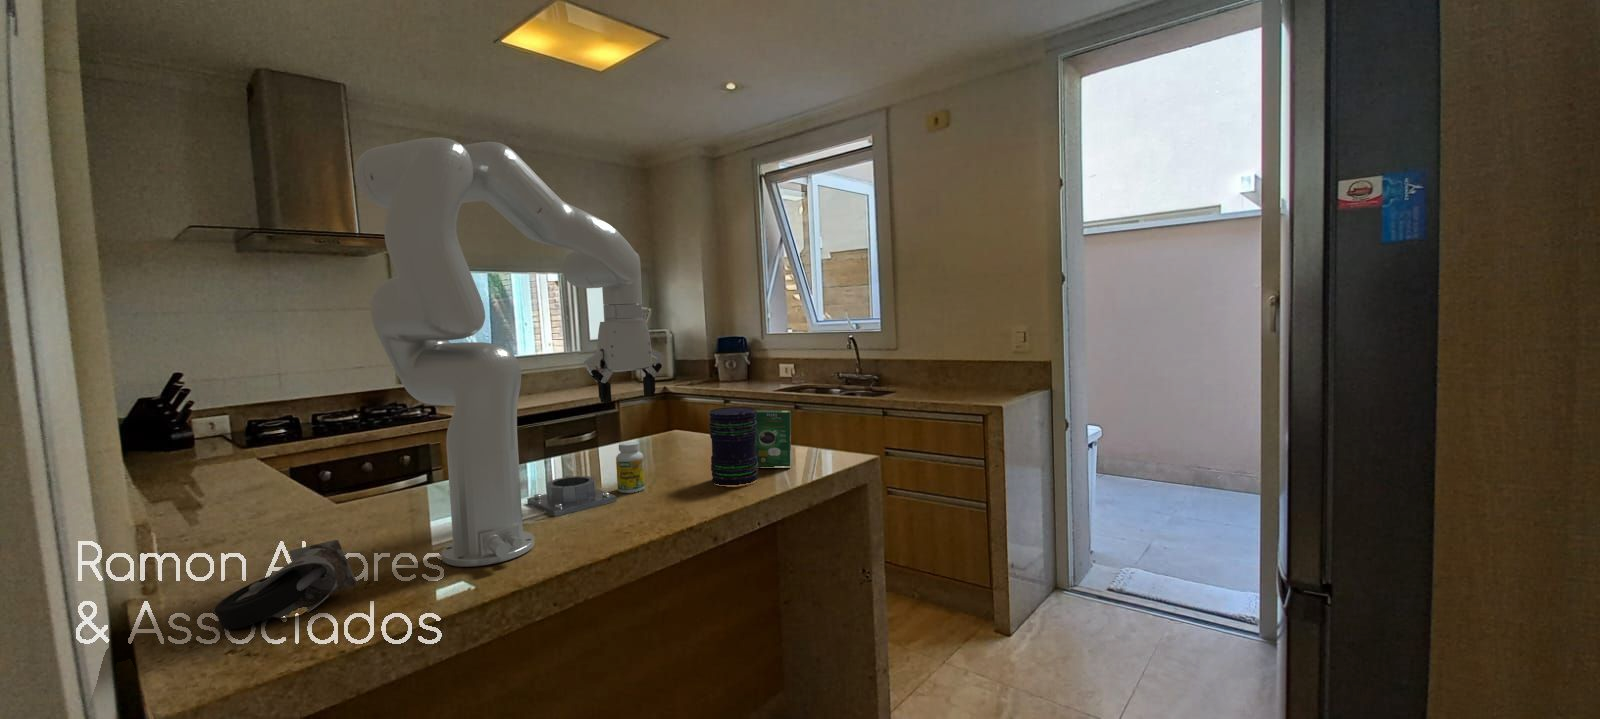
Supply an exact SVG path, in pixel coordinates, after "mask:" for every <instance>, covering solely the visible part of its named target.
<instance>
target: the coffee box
mask: <svg viewBox="0 0 1600 719" xmlns="http://www.w3.org/2000/svg"><path fill="white" fill-rule="evenodd" d="M791 412H792V410H764V409H762V410H760V409H759V410H757V409H756V414H755V416H756V422H757V428H756V429H757V436H756V454H757V457H758V461H757V462H758V467H774V466H790V465H791V466H792V446H791V445H792V444H791V443H792V439H791V438H792V435H791V434H792V432H791V431H792V428H791V427H792V423H791V422H792V414H791Z"/></svg>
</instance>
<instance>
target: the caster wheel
mask: <svg viewBox="0 0 1600 719" xmlns="http://www.w3.org/2000/svg"><path fill="white" fill-rule="evenodd" d="M289 555H290V558H291V559H292V561H291V562H289V563H288V564H287V565H285V566H283V567H282V568H280V569H279V570H277V571H276V572H274V573H273V574H271V575H269V576H266V577H263V578H261V579H258V580H257V581H253V582H251V583H250V584H247V585H245V586H243V587H242V588H240V589H238V590H236V591H234V592H232V593H231V594H230V595H228V596H227V597H225V598H223V599H222V600H221V601H220V602H218V604H217V605H216V606H215V607H214V609H213V611H214V613H215V615H216V617H217V620H218V622H219V623H220V625H221V627H222V629H224V630H228V631H230V630H238V629H242V628H245V627H249V626H251V625H254V624H257V623H258V622H262V621H264V620H267V619H268V618H270V617H273V618H277V619H282V618H281V617H283V616H285V615H289V614H290V613H291V612H292V611H295V610H297V609H298V608H302V607H307V609H308V610H307V613H309V612H311V611H312V610H314V609H316V608H317V607H318V606H319V605H321V603H323V602H324V601H325V600H326V599H328V598H329V597H330V596H331V595H332V594H334V593H335V592H336V591H338V590H342V589H346V588H352V587H355V586H358V581H357V579H356V577H355V574H354V573H353V570H352V568H351V566H350V563H349V561H348V559H347V557H346V555H345V553H344V550H343V548H342V545H341V543H340V542H339V540H338V539H333V540H330V541H324V542H321V543H320V542H319V543H317V544H312V545H307V546H304V547H299V548H295V549H290V550H289Z"/></svg>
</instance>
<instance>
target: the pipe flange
mask: <svg viewBox="0 0 1600 719" xmlns="http://www.w3.org/2000/svg"><path fill="white" fill-rule="evenodd" d="M545 488H546V493H544V494H540V493H538V494H536V493H535V494H534V495H533V496H532V497H528V498H526V499H527V504H528V505H530V506H532V507H533V508H536V509H538V510H539V511H542V512H544V513H547V514H549V515H550V516H552V517H555V518H556V517H560V516H563V515H568V514H571V513H575V512H579V511H583V510H588V509H592V508H595V507H599V506H603V505H608V504H611V503H616V502H618V501H617V495H614V494H611V493H610V492H609V491H608V492H606V491H603V490H601V489H599V488H596V478H595V477H593V476H589V475H588V476H587V475H574V476H572V475H571V476H565V477H560V478H559V477H558V478H556V479H553V480H550V481H548V482H547V483H546V486H545Z"/></svg>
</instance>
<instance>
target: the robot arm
mask: <svg viewBox="0 0 1600 719" xmlns="http://www.w3.org/2000/svg"><path fill="white" fill-rule="evenodd" d="M353 171H354V174H353V176H354V180H355V183H356V185H357V188H358V189H359V191H360V192H361V193H362V194H363V196H364V197H365V198H367V199H368V200H369V201H370V202H372V203H373V204H374V205H377V206H380V207H382V208H387V211H386V215H385V220H384V228H383V229H384V242H385V246H386V250H387V253H388V255H389V258H390V260H391V262H392V266H393V268H394V270H395V273H396V275H397V276H394V277H391V278H389V279H386V280H385V281H383V282H382V283H380V285H379V286H377V288H375V290H374V292H373V294H372V297H371V299H370V300H371V302H370V308H369V309H370V319H371V323H372V326H373V328H374V330H375V333H376V335H377V337H378V340H379V341H380V343H381V346H382V347H383V349H384V351H385V353H386V356H387V358H388V359H389V362H390V364H391V365H392V367H393V369H394V372H395V373H396V375H397V377H398V378H399V381H400V382H401V384H402V386H403V387H404V389H405V390H406V392H407V393H408V394H409V395H410V396H411V397H412V398H414V399H415V400H416V401H418V402H420V403H423V404H425V405H426V404H427V405H431V406H445V407H446V406H448V407H454V410H453V413H452V416H451V418H450V421H449V424H448V428H447V431H446V441H445V445H446V446H445V447H446V456H447V470H448V474H447V475H448V487H449V489H448V490H449V499H450V501H449V504H450V514H451V515H450V516H451V529H452V542H451V543H449V544H448V545H446V546H445V547H444V548H443V549H442V551H441V560H442V562H444V563H445V564H447V565H450V566H451V567H452V566H453V567H465V568H467V567H469V568H470V567H481V566H488V565H489V566H490V565H492V564H494V565H495V564H498V563H502V562H507V561H509V560H513V559H515V558H518V557H520V556H522V555H524V554H526V553H528V552H529V551H530V550H531V549H533V547H534V546H535V536H534V535H533V534H532V533H530V532H529V531H525V530H524V528H523V512H522V511H523V510H522V509H523V508H522V492H521V491H522V490H521V477H520V460H519V443H518V405H519V396H520V391H521V385H522V384H521V383H522V369H521V366H520V362H519V361H518V358H517V357H516V356H515V354H513V352H511V350H509V349H508V348H506V347H505V346H502V345H499V344H496V343H491V342H483V341H482V342H478V341H477V342H473V341H471V342H463V341H462V342H450V341H454V340H462V339H466V338H470V337H471V336H474V335H476V334H477V333H479V331H480V330H481V329H482V328H483V326H484V324H485V320H486V311H485V306H484V303H483V300H482V297H481V295H480V293H479V290H478V287H477V285H476V282H475V279H474V277H473V275H472V272H471V270H470V267H469V265H468V262H467V260H466V258H465V256H464V253H463V251H462V247H461V245H460V242H459V239H458V234H457V219H458V215H459V212H460V208H461V206H462V204H466V203H467V204H468V203H476V202H485V203H487V204H489V205H490V206H491V207H492V209H494V210H496V211H497V213H499V214H500V215H501V216H502V217H503V218H505V220H506V221H508V222H509V223H510V224H511V225H513V226H514V228H516V229H517V230H518V231H519V232H520V233H521V234H522V235H523V236H525V237H526V238H528V239H530V240H531V241H534V242H538V243H541V244H544V245H548V246H553V247H556V248H562V249H568V250H571V251H569V252H568V253H567V254H566V255H565V256H564V258H563V260H562V262H561V271H562V276H563V277H564V279H565V280H566V282H568V283H569V284H570V285H572V286H574V287H576V288H580V289H602V290H601V292H602V304H603V306H602V307H603V320H604V321H599V328H598V334H597V342H596V343H597V344H596V346H597V348H596V349H597V350H596V352H597V353H595V354H593V355H591V356H590V357H588V358H587V359H585V360H584V361H583V365H584V367H585V369H586V370H587V372H588V375H589V376H590V377H591V378H592V379H594V381H595V382H596V383H597V385H598V386H597V388H598V398H599V400H600V403H604V404H611V403H612V387H611V383H610V382H609V380H610V378H611V377H612V375H613V374H614V373H618V372H619V373H621V372H622V373H623V372H629V371H638V370H639V371H641V372H642V373H643V374H644V376H643V378H642V386H643V388H642V390H643V395H644V396H645V397H649V398H654V397H655V395H656V394H655V393H656V377H657V376H658V373H659V372H660V370H661V369H662V367H663V366H662V365H663V364H664V361H665V358H666V356H665V353H662V352H660V351H658V350H656V349H654V348H652V342H651V336H650V330H649V327H648V323H647V320H646V319H644V318H645V317H644V316H645V315H647V314H648V313H649V309H648V307H644V304H643V288H642V287H643V286H642V270H641V269H642V267H641V258H640V255H639V254H638V253H637V251H635V250H634V248H633V246H632V245H631V244H630V243H629V242H628V241H627V239H625V237H624V236H623V235H622V234H621V233H620V232H619V231H618V230H617V229H616V228H615V227H613V226H612V225H611V224H609V223H608V222H607V221H604V220H602V219H600V218H599V217H597V216H595V215H593V214H591V213H589V212H587V211H585V210H583V209H580V208H578V207H576V206H574V205H571V204H570V203H567V202H565V201H564V200H562V199H561V198H560V197H559V196H558V195H557V194H556V193H555V192H554V191H553V190H552V189H551V188H550V187H549V186H548V185H547V184H546V183H545V181H544V180H542V179H541V177H539V176H538V174H536V173H535V172H534V170H533V169H532V168H531V167H530V166H529V165H528V164H527V163H526V162H525V161H524V160H523V159H522V158H521V157H520V156H519V155H518V154H517V153H516V152H515V151H514V150H512V149H511V147H509V146H507V145H506V144H504V143H502V142H497V141H481V142H474V143H469V144H468V143H467V144H461V143H459V142H457V141H456V140H454V139H451V138H448V137H447V138H446V137H440V136H439V137H436V136H435V137H432V136H431V137H424V138H418V139H417V138H416V139H412V140H406V141H403V142H397V143H390V144H386V145H380V146H375V147H372V148H370V149H368V150H366V151H364V152H363V153H362V154H361V155H360V156H359V157H358V159H357V160H356V161H355V165H354V170H353ZM653 358H654V363H653ZM595 365H597V368H598V369H597V368H596V366H595Z"/></svg>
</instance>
